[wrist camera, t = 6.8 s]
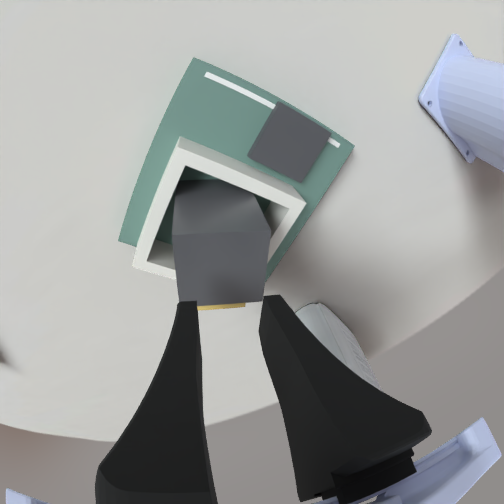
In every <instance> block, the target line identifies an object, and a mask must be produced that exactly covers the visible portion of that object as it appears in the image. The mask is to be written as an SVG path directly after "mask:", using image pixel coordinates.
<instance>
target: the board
mask: <svg viewBox="0 0 504 504" xmlns="http://www.w3.org/2000/svg"><path fill="white" fill-rule="evenodd" d="M353 148H354V145H353V144H352V143H350V142H349V141H347V140H346V139H344V138H343V137H341V136H340V135H339V134H337V133H336V132H334V131H333V130H331V129H330V128H328V127H326V126H325V125H323V124H322V123H320V122H319V121H317V120H315V119H314V118H312V117H311V116H309V115H307V114H306V113H304V112H302V111H301V110H299V109H297V108H296V107H294V106H292V105H291V104H289V103H287V102H285V101H284V100H282V99H280V98H278V97H276V96H275V95H273V94H271V93H269V92H267V91H265V90H263V89H261V88H259V87H258V86H256V85H254V84H252V83H250V82H248V81H246V80H244V79H242V78H239V77H237V76H235V75H233V74H231V73H229V72H227V71H224V70H222V69H220V68H218V67H216V66H213V65H211V64H209V63H206V62H204V61H201V60H199V59H197V58H194V57H193V59H192V61H191V63H190V65H189V66H188V68H187V70H186V72H185V74H184V76H183V78H182V80H181V82H180V83H179V85H178V87H177V89H176V91H175V93H174V95H173V97H172V100H171V102H170V104H169V106H168V108H167V110H166V112H165V114H164V117H163V119H162V121H161V123H160V125H159V128H158V130H157V132H156V135H155V137H154V139H153V142H152V144H151V147H150V149H149V151H148V154H147V156H146V159H145V162H144V164H143V167H142V169H141V172H140V175H139V177H138V180H137V183H136V186H135V189H134V191H133V194H132V197H131V200H130V203H129V206H128V209H127V213H126V216H125V219H124V222H123V225H122V229H121V232H120V236H119V239H118V241H120V242H123V243H126V244H129V245H132V246H135V247H136V251H135V256H134V260H133V264H132V267H134V268H137V269H140V270H144V271H147V272H150V273H153V274H157V275H160V276H164V277H167V278H170V279H174V280H176V271H175V263H174V253H173V244H172V226H173V215H174V204H175V195H176V186H177V183H178V181H181V180H205V179H221V180H224V181H226V182H229V183H231V184H233V185H236V186H238V187H241V188H243V189H245V190H248V191H250V192H252V193H253V194H254V196H255V198H256V200H257V202H258V204H259V206H260V208H261V210H262V212H263V215H264V217H265V219H266V221H267V223H268V225H269V227H270V229H271V237H270V245H269V253H268V261H267V269H266V277H265V282H266V281H267V279H268V278H269V276H270V275H271V273H272V272H273V270H274V269H275V267H276V266H277V264H278V263H279V261H280V260H281V259H282V257H283V256H284V254H285V253H286V251H287V250H288V248H289V247H290V245H291V244H292V242H293V241H294V239H295V238H296V236H297V235H298V233H299V232H300V230H301V229H302V227H303V226H304V224H305V223H306V221H307V220H308V218H309V217H310V215H311V213H312V212H313V210H314V209H315V207H316V206H317V204H318V203H319V201H320V200H321V198H322V197H323V195H324V193H325V192H326V190H327V189H328V187H329V186H330V184H331V183H332V181H333V180H334V178H335V176H336V175H337V173H338V172H339V170H340V169H341V167H342V165H343V164H344V162H345V161H346V159H347V157H348V156H349V154H350V153H351V151H352V150H353Z"/></svg>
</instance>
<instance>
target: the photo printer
mask: <svg viewBox="0 0 504 504" xmlns="http://www.w3.org/2000/svg"><path fill="white" fill-rule="evenodd" d="M295 314H296V315H297V316H298V318H299V319H300V320H301V321H302V322H303V323H304V325H305V326H306V327H307V328H308V329H309V330H310V331H311V332H312V333H313V335H314V336H315V337H316V338H317V339H318V340H319V341H320V342H321V343H322V344H323V345H324V346H325V347H326V348H327V349H328V350H329V351H330V352H331V353H332V354H333V355H334V356H335V357H337V358H338V359H339V360H340V361H341V362H342V363H343V364H345V365H346V366H347V367H348V368H349V369H351V370H352V371H353V372H354V373H356V374H357V375H358V376H360V377H361V378H362V379H364V380H365V381H367V382H368V383H370V384H371V385H373V386H374V387H376V388H377V389H379V390H380V391H382V389H381V387H380V385H379V383H378V381H377V379H376V377H375V375H374V373H373V371H372V369H371V367H370V365H369V363H368V361H367V359H366V357H365V355H364V353H363V351H362V349H361V347H360V345H359V343H358V341H357V339H356V338H355V336H354V335H353V334H352V332H351V331H350V330H349V329H348V328H347V327H346V326H345V325H344V324H343V322H342V321H341V320H340V319H339V318H338V317H337V316H336V315H335V314H334V313H333V312H332V311H330V310H329V309H328V308H327V307H326V306H324V305H323V304H321V303H318V304H309V305H307V306H304V307H303V308H301V309H300V310H298V311H297V312H296V313H295ZM382 392H383V391H382Z"/></svg>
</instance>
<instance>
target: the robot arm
mask: <svg viewBox="0 0 504 504" xmlns="http://www.w3.org/2000/svg"><path fill="white" fill-rule="evenodd" d="M459 44H460V45H459ZM428 101H429V105H428ZM419 102H420V104H421V105H422V106H423V107H424V108H425V109H426V110H427V112H428V113H429V114H430V115H431V116H432V117H433V118H434V120H435V121H436V122H437V123H438V124H439V126H440V127H441V128H442V129H443V130H444V132H445V133H446V134H447V135H448V137H449V138H450V139H451V141H452V142H453V143H454V144H455V146H456V147H457V148H458V150H459V151H460V153H461V154H462V155H463V157H464V158H465V160H466V161H467V162H468V163H473V161H474V159H475V158H476V157H478V158H480V159H481V160H483V161H485V162H487V163H489V164H490V165H492V166H494V167H495V168H497V169H499V170H500V171H502V172H504V64H502V63H498V62H494V61H489V60H485V59H480V58H475V57H474V56H473V55H472V53H471V52H470V50H469V49H468V47H467V46H466V45H465V43H464V42H463V40H462V39H461V38H460V36H459V35H458V34H452V35H451V37H450V39H449V41H448V43H447V45H446V47H445V49H444V51H443V53H442V55H441V57H440V59H439V60H438V62H437V64H436V66H435V68H434V70H433V72H432V73H431V75H430V77H429V79H428V81H427V83H426V84H425V86H424V88H423V90H422V92H421V93H420V95H419ZM259 336H260V341H261V346H262V351H263V355H264V358H265V361H266V364H267V367H268V370H269V373H270V376H271V379H272V382H273V385H274V388H275V391H276V394H277V397H278V400H279V403H280V406H281V409H282V414H283V418H284V422H285V427H286V431H287V436H288V441H289V446H290V450H291V456H292V462H293V467H294V472H295V479H296V485H297V493H298V497H299V500H300V502H303V501H307V500H310V499H314V498H317V497H321V496H322V499H323V501H319V502H316V503H313V504H358V503H361V502H363V501H366V500H368V499H370V498H373V497H375V496H377V495H378V496H377V499H376V500H375V501H373V502H370V503H367V504H455V503H456V502H457V501H458V500H459V499H460V498H461V497H462V496H463V495H464V494H465V493H466V492H467V491H468V490H469V489H470V488H471V487H472V486H473V485H474V484H475V483H476V482H477V480H478V479H479V478H480V477H481V476H482V475H483V474H484V473H485V472H486V471H487V470H488V469H489V468H490V467H491V466H492V465H493V464H494V463H495V462H496V461H497V460H498V459H499V458H500V457H501V452H500V450H499V448H498V446H497V444H496V442H495V440H494V438H493V436H492V434H491V432H490V430H489V428H488V426H487V424H486V422H485V420H484V418H483V417H481V418H480V419H478V420H477V421H476V422H474V423H473V424H472V425H470V426H469V427H468V428H466V429H465V430H463V431H462V432H461V433H459V434H458V435H457V436H455V437H454V438H452V439H451V440H449V441H448V442H446V443H445V444H443V445H441V446H440V447H438V448H437V449H436V450H434V451H433V452H431V453H429V454H427V455H426V456H424V457H422V458H421V459H419V460H417V461H415V462H413V461H412V459H411V457H412V456H413V455H414V452H413V450H412V447H414V446H415V445H417V444H418V443H420V442H421V441H423V440H424V439H425V438H427V437H428V436H429V435H431V432H432V430H431V428H430V426H429V424H428V422H427V420H426V418H425V416H424V414H423V413H422V412H421V411H419V410H417V409H415V408H413V407H410V406H408V405H406V404H404V403H402V402H400V401H398V400H396V399H394V398H392V397H390V396H389V395H387V394H385V393H384V392H382V391H380V390H379V389H377V388H376V387H374V386H373V385H371V384H370V383H368V382H367V381H365V380H364V379H362V378H361V377H360V376H358V375H357V374H356V373H354V372H353V371H352V370H351V369H349V368H348V367H347V366H346V365H345V364H343V363H342V362H341V361H340V360H339V359H338V358H337V357H335V356H334V355H333V354H332V353H331V352H330V351H329V350H328V349H327V348H326V347H325V346H324V345H323V344H322V343H321V342H320V341H319V340H318V339H317V338H316V337H315V336H314V335H313V333H312V332H311V331H310V330H309V329H308V328H307V327H306V326H305V325H304V323H303V322H302V321H301V320H300V319H299V318H298V316H297V315H296V314H295V313H294V312H293V310H292V309H291V308H290V307H289V305H288V304H287V303H286V302H285V300H284V299H283V298H282V297H281V296H280V295H270V296H264V298H263V304H262V311H261V318H260V325H259ZM95 496H96V504H218V502H217V497H216V492H215V487H214V482H213V476H212V471H211V465H210V459H209V453H208V447H207V440H206V433H205V426H204V418H203V394H202V355H201V344H200V333H199V321H198V309H197V301H181V302H179V303H178V304H177V311H176V316H175V320H174V324H173V327H172V331H171V334H170V337H169V340H168V343H167V346H166V349H165V351H164V354H163V357H162V359H161V361H160V364H159V366H158V369H157V371H156V374H155V376H154V378H153V380H152V382H151V384H150V386H149V388H148V390H147V392H146V394H145V396H144V398H143V400H142V402H141V404H140V405H139V407H138V409H137V411H136V413H135V414H134V416H133V418H132V419H131V421H130V422H129V424H128V426H127V427H126V429H125V430H124V432H123V433H122V435H121V436H120V438H119V439H118V441H117V442H116V444H115V445H114V446H113V448H112V449H111V450H110V452H109V453H108V454H107V455H106V457H105V458H104V459H103V461H102V462H101V463H100V465H99V467H98V470H97V475H96V483H95ZM6 504H50V503H47V502H44V501H41V500H38V499H35V498H32V497H29V496H27V495H24V494H21V493H19V492H16V491H14V490H11V489H9V488H7V489H6Z"/></svg>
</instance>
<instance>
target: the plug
mask: <svg viewBox="0 0 504 504" xmlns="http://www.w3.org/2000/svg"><path fill="white" fill-rule="evenodd" d="M270 237H271V229H270V227H269V225H268V223H267V221H266V219H265V217H264V215H263V212H262V210H261V208H260V206H259V204H258V202H257V200H256V198H255V196H254V194H253V193H252V192H250V191H248V190H245V189H243V188H241V187H238V186H236V185H233V184H231V183H229V182H226V181H224V180H221V179H205V180H181V181H178V183H177V186H176V195H175V204H174V215H173V226H172V244H173V253H174V263H175V271H176V280H177V288H178V295H179V302H181V301H197V309H198V310H212V309H225V308H238V307H245V303H248V302H259V301H262V300H263V293H264V285H265V277H266V269H267V261H268V253H269V245H270Z"/></svg>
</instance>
